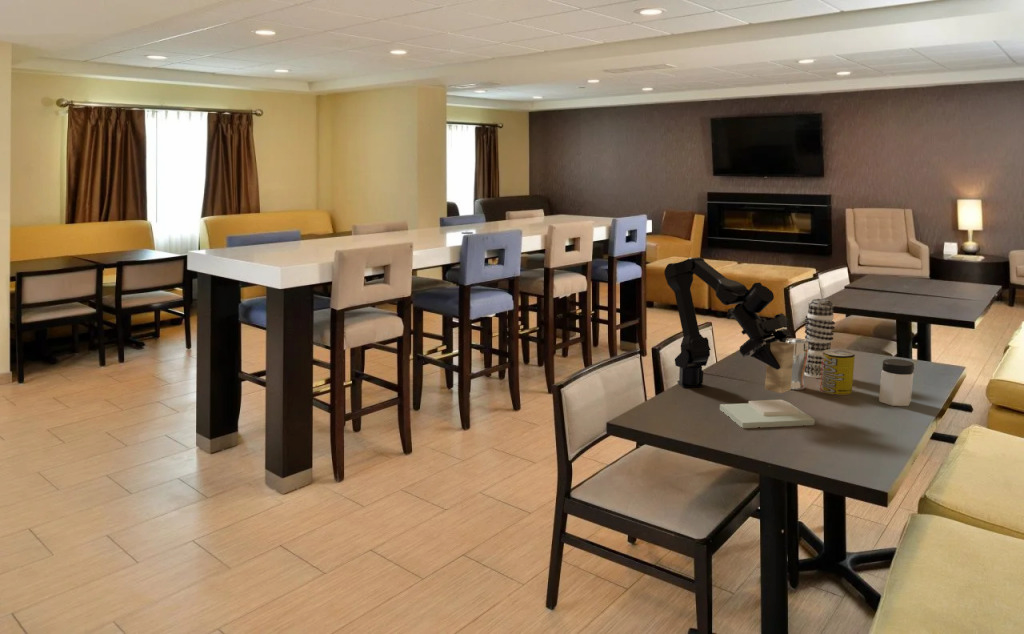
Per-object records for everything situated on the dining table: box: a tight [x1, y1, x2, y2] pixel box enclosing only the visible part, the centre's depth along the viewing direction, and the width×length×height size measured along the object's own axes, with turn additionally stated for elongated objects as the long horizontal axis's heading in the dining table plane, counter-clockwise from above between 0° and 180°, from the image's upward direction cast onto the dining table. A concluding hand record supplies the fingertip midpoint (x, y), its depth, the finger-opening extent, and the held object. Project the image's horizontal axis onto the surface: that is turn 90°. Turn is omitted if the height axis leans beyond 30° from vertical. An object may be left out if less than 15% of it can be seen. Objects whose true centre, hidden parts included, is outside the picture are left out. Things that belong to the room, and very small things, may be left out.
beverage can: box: [819, 348, 856, 396], centre depth 236 cm, size 9×9×12 cm
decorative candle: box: [804, 298, 836, 379], centre depth 252 cm, size 9×9×25 cm
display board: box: [719, 399, 816, 429], centre depth 213 cm, size 20×16×2 cm
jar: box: [878, 358, 915, 407], centre depth 224 cm, size 9×8×12 cm
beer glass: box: [785, 337, 809, 391], centre depth 239 cm, size 7×7×15 cm
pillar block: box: [764, 341, 794, 394], centre depth 214 cm, size 5×5×13 cm
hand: (783, 367), depth 212 cm, fingers closed on pillar block, 5 cm apart
